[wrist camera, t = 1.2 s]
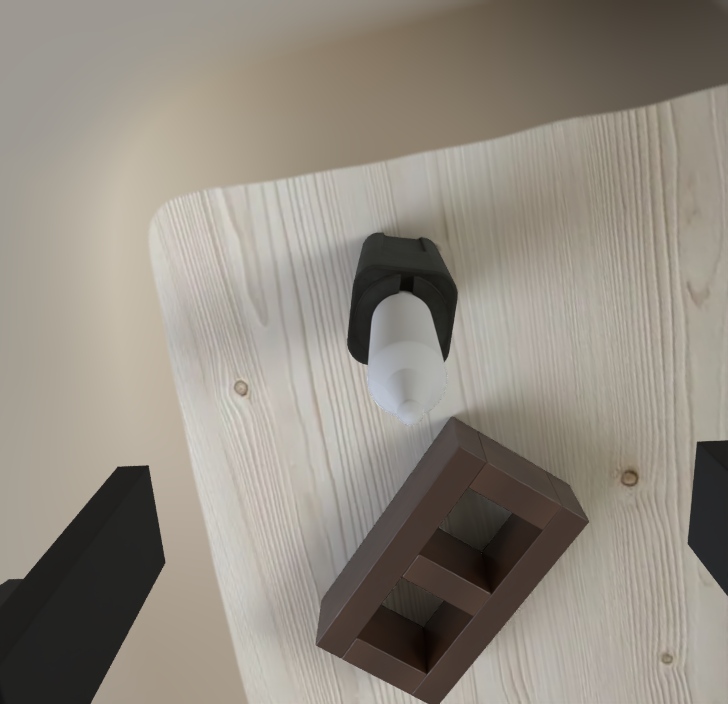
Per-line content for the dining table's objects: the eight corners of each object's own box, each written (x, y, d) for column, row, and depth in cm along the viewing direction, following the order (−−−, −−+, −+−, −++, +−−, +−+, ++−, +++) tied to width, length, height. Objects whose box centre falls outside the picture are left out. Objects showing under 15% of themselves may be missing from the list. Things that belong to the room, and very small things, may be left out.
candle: (355, 305, 45) (321, 481, 21) (364, 230, 44) (337, 329, 20) (429, 313, 45) (478, 498, 21) (440, 239, 44) (505, 348, 20)
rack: (321, 600, 52) (314, 645, 48) (451, 415, 47) (459, 445, 43) (431, 658, 54) (436, 708, 49) (569, 484, 49) (589, 521, 44)
